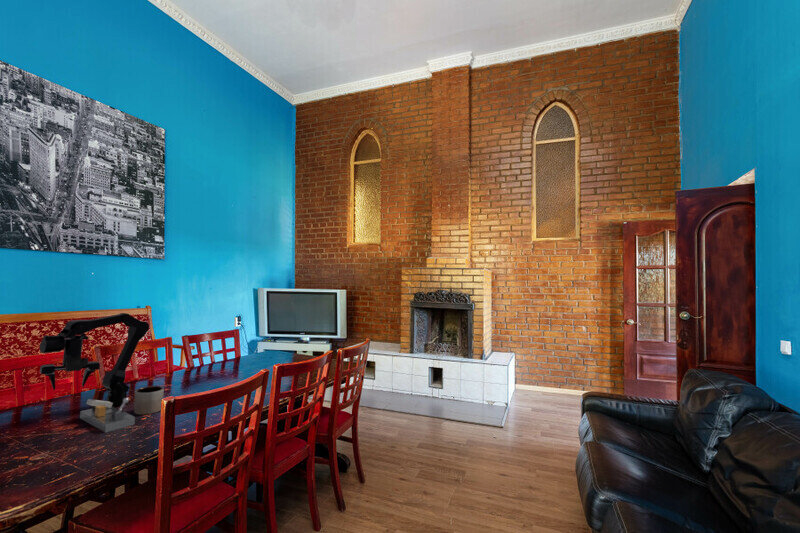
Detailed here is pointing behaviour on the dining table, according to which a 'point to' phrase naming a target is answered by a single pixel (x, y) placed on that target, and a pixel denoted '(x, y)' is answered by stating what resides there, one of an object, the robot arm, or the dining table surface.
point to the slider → (100, 410)
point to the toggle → (122, 405)
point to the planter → (148, 400)
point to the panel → (107, 419)
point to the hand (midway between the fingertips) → (68, 388)
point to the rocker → (99, 403)
